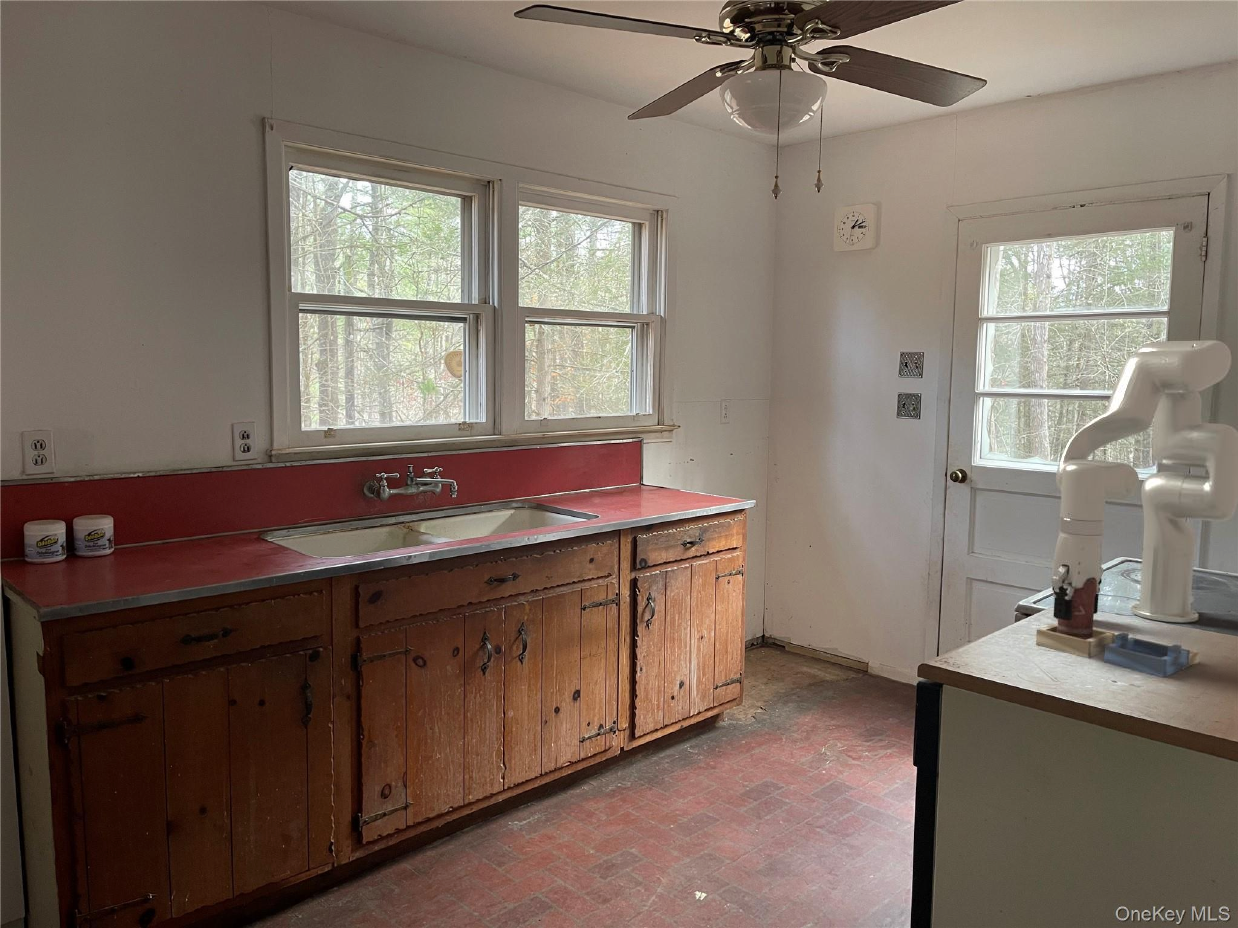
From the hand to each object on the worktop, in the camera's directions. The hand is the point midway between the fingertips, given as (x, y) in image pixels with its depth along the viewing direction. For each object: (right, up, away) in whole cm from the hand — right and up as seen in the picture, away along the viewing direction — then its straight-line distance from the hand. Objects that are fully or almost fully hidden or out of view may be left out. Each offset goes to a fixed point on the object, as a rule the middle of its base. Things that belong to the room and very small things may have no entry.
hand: (1075, 615), depth 170 cm
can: (0, -6, +1) cm, 6 cm away
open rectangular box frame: (+6, -7, -3) cm, 9 cm away
